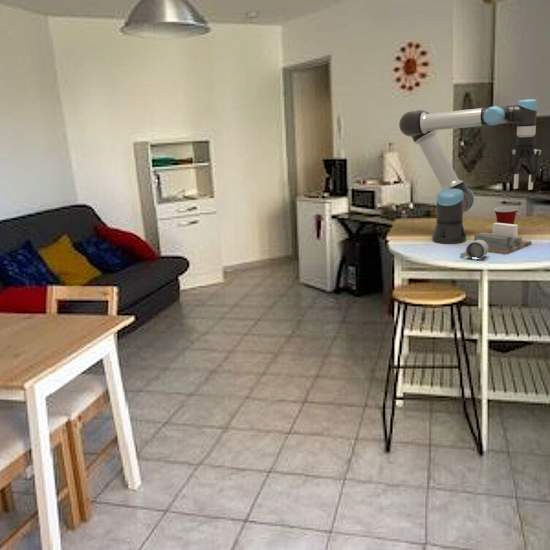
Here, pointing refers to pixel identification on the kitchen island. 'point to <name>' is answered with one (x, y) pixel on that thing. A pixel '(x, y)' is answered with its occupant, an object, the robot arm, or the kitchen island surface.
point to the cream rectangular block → (505, 229)
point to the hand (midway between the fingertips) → (523, 188)
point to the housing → (502, 242)
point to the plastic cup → (506, 214)
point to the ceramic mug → (476, 249)
